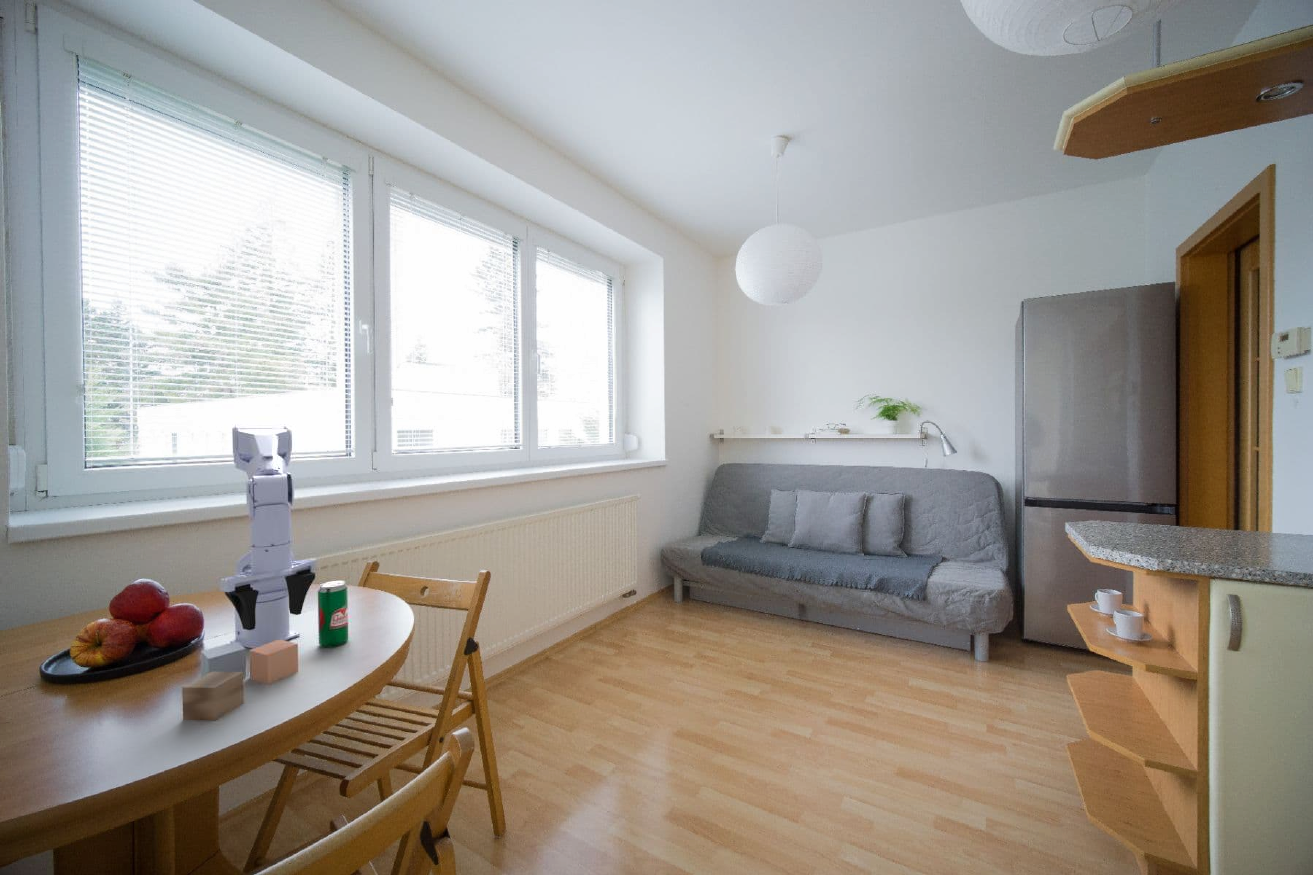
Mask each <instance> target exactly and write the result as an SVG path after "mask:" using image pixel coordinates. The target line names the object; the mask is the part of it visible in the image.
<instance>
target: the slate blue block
mask: <svg viewBox="0 0 1313 875" xmlns="http://www.w3.org/2000/svg"><path fill="white" fill-rule="evenodd" d="M246 648H247V647H245V646H242V645H241V644H240V643H238V642H233V643H226V644H221V645H218V646H214V647H211V648H208V649H207V648H206V649H204V650H201V651H200V669H201V670H200V671H201V672H200V674H201V677H203V676H205V675H207V674H209V673H211V672H213V671H216V672H243V678H246V677H247V654H246V653H247V652H246V650H247V649H246ZM201 677H200V678H201Z"/></svg>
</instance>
